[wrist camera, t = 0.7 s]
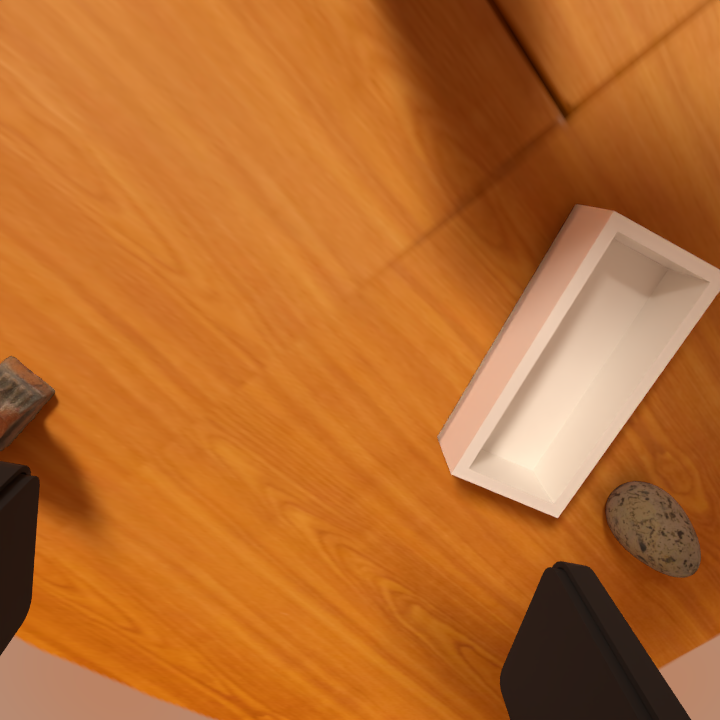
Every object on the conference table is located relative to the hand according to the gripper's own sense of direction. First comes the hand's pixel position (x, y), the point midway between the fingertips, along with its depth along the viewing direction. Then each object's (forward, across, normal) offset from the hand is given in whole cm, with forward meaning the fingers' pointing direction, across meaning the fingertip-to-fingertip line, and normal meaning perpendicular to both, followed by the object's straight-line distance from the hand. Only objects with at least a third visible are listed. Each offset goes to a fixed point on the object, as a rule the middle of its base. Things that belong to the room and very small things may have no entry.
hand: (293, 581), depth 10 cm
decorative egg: (+35, -32, +14) cm, 49 cm away
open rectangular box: (+34, -20, +2) cm, 40 cm away
